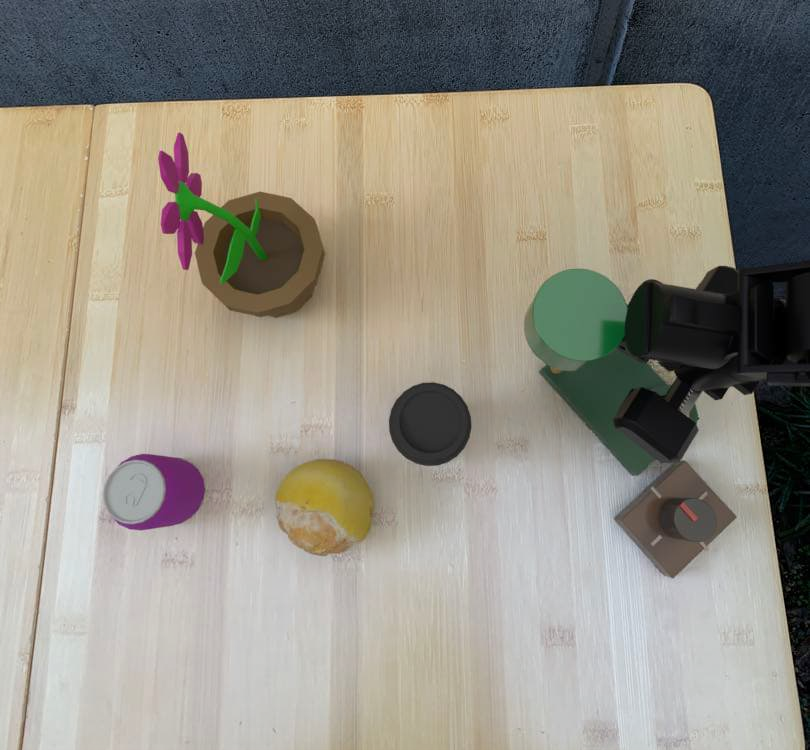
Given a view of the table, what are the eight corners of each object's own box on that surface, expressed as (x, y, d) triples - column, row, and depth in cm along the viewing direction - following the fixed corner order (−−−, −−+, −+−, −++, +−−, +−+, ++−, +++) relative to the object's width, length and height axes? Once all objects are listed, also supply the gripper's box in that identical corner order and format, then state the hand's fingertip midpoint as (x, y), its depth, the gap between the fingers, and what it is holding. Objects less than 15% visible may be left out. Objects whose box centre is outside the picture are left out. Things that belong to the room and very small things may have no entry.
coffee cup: (449, 480, 79) (456, 478, 65) (382, 454, 80) (375, 447, 66) (472, 412, 81) (484, 396, 67) (407, 388, 82) (405, 367, 68)
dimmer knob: (707, 520, 75) (727, 523, 70) (679, 548, 74) (697, 551, 70) (678, 489, 76) (696, 489, 71) (650, 515, 75) (666, 517, 70)
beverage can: (195, 533, 78) (156, 540, 67) (132, 516, 79) (83, 520, 67) (215, 466, 80) (181, 462, 69) (154, 450, 81) (110, 444, 69)
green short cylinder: (630, 332, 61) (649, 319, 57) (566, 389, 60) (579, 380, 55) (569, 268, 63) (582, 249, 58) (505, 322, 62) (512, 308, 57)
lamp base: (695, 420, 81) (709, 417, 77) (633, 477, 79) (644, 477, 75) (599, 319, 84) (608, 310, 80) (538, 372, 82) (544, 366, 78)
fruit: (287, 459, 80) (270, 455, 71) (378, 462, 80) (373, 458, 70) (280, 550, 78) (261, 558, 68) (374, 553, 77) (368, 563, 68)
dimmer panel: (727, 518, 78) (740, 519, 75) (665, 577, 76) (675, 581, 73) (673, 459, 79) (683, 458, 76) (611, 516, 78) (619, 517, 75)
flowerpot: (222, 227, 88) (125, 96, 59) (333, 223, 88) (291, 90, 58) (218, 335, 84) (113, 253, 55) (334, 331, 84) (289, 247, 55)
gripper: (718, 202, 57) (633, 259, 72) (603, 376, 52) (537, 398, 67) (826, 282, 57) (717, 323, 72) (720, 466, 52) (627, 468, 67)
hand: (650, 374), depth 69 cm, fingers open, 9 cm apart
